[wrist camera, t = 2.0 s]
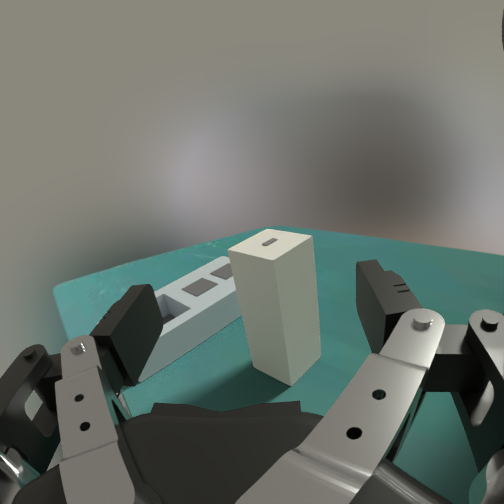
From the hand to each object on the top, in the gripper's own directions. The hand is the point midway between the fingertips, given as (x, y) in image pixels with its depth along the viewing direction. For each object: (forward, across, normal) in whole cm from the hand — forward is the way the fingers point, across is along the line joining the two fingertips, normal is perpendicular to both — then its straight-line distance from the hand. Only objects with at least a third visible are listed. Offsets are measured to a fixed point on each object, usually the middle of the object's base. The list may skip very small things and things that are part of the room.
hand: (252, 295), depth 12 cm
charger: (+12, 0, +14) cm, 18 cm away
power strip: (+20, +11, +14) cm, 27 cm away
